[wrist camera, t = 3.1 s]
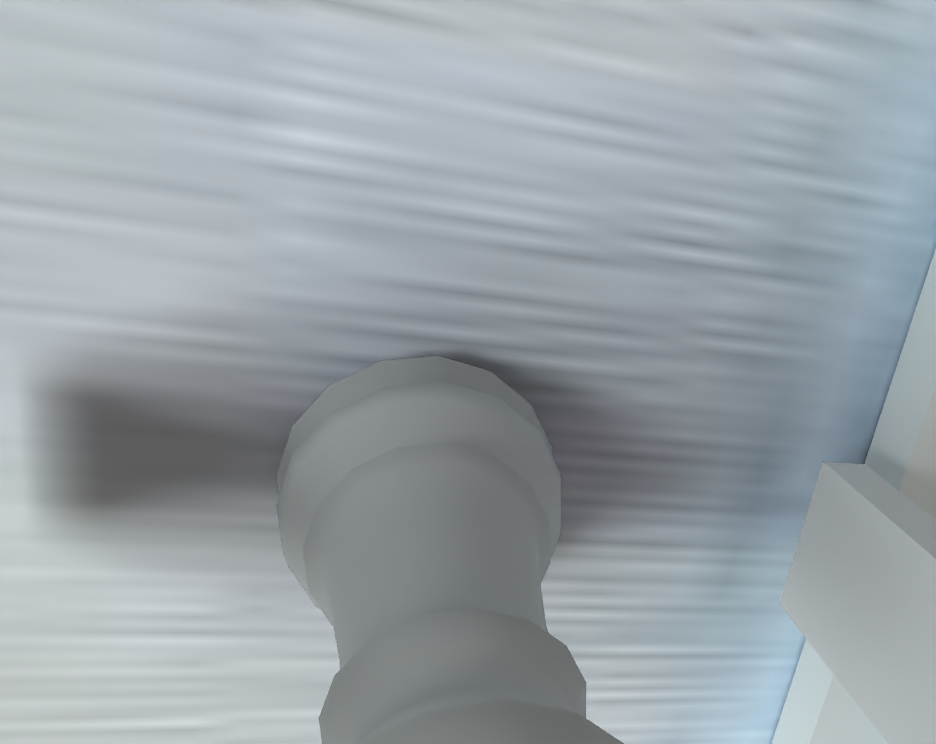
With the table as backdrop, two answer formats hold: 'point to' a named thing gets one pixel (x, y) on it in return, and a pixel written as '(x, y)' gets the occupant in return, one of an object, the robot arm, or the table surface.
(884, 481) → the robot arm
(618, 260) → the table surface
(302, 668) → the table surface
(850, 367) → the table surface
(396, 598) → the rook chess piece
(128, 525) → the table surface
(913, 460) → the build plate
